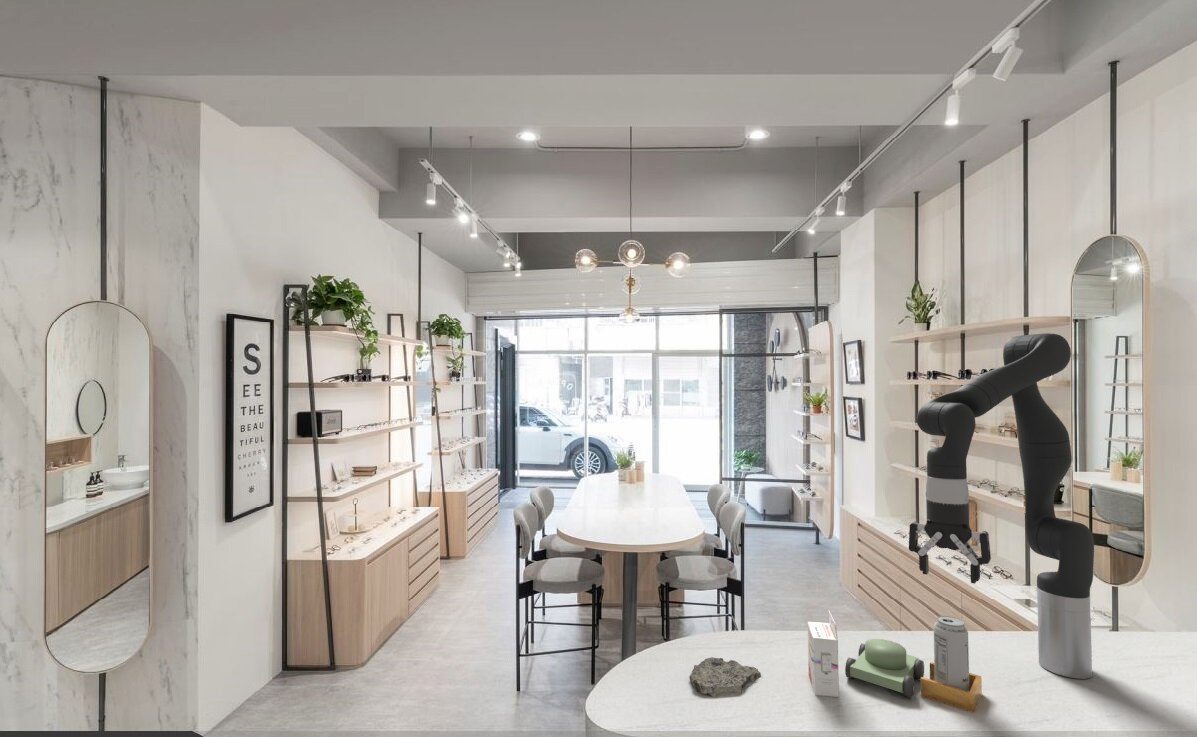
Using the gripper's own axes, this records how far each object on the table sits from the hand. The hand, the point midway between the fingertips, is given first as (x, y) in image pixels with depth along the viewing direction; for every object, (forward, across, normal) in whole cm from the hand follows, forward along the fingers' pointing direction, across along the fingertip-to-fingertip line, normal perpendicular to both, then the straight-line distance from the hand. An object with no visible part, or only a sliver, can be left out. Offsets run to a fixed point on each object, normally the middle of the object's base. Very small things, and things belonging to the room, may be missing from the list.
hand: (949, 577), depth 117 cm
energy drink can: (+24, 0, 0) cm, 24 cm away
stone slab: (+24, +38, +26) cm, 52 cm away
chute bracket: (+24, 0, 0) cm, 24 cm away
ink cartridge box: (+24, +21, +14) cm, 35 cm away
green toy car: (+24, +12, +2) cm, 27 cm away
